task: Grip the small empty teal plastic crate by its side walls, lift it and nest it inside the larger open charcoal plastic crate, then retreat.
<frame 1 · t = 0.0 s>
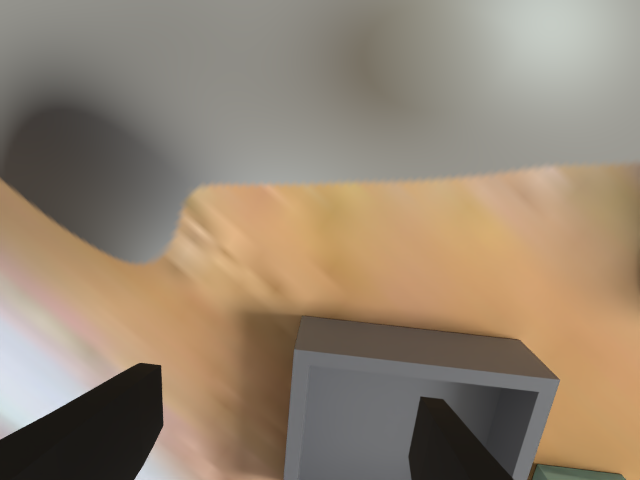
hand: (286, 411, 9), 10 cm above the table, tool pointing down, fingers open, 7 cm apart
big crate: (393, 417, 21), on the table
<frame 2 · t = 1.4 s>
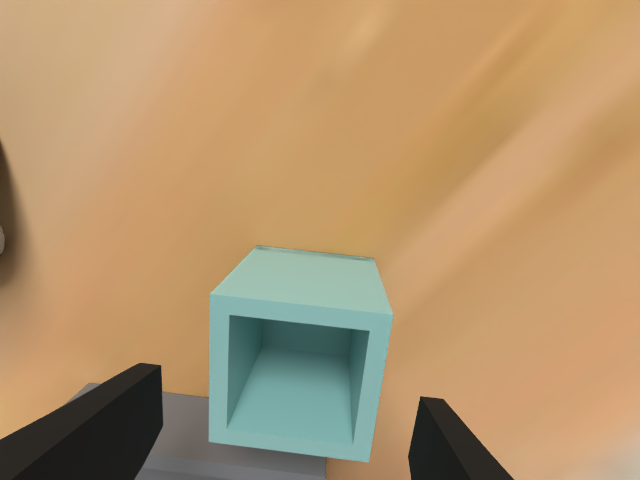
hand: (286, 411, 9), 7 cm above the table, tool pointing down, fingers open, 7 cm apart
small crate: (309, 305, 15), on the table
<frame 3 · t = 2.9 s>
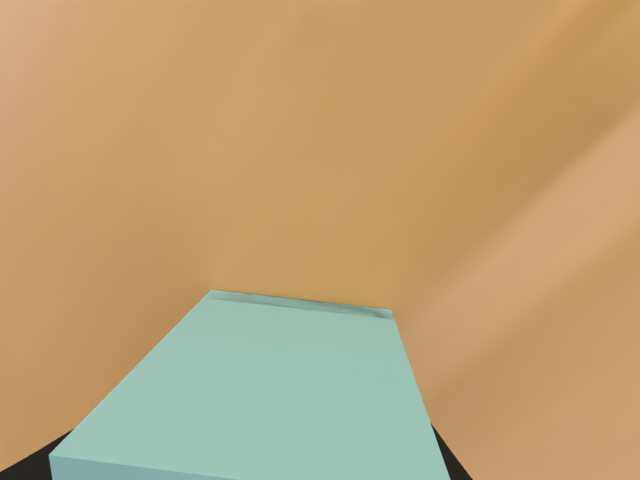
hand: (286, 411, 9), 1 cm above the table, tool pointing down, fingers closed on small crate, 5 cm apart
small crate: (293, 377, 10), on the table, touching gripper
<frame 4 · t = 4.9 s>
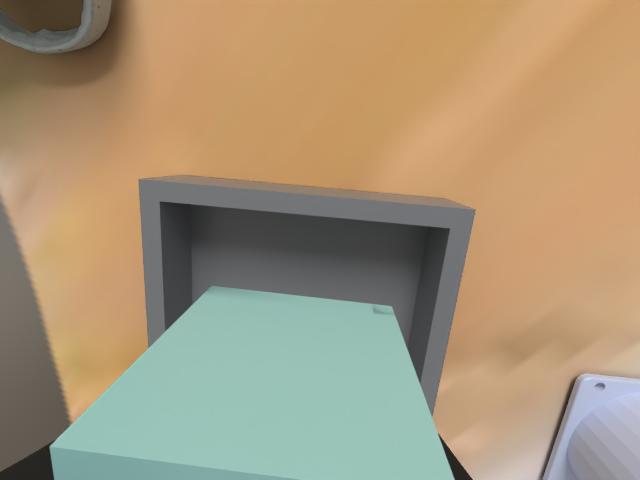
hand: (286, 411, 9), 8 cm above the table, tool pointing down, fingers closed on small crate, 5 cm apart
big crate: (302, 307, 17), on the table
small crate: (294, 373, 10), point 7 cm above the table, touching gripper
when the fingers open (4 cm above the table, at t = 6.9 s): small crate drops 1 cm, resting on big crate.
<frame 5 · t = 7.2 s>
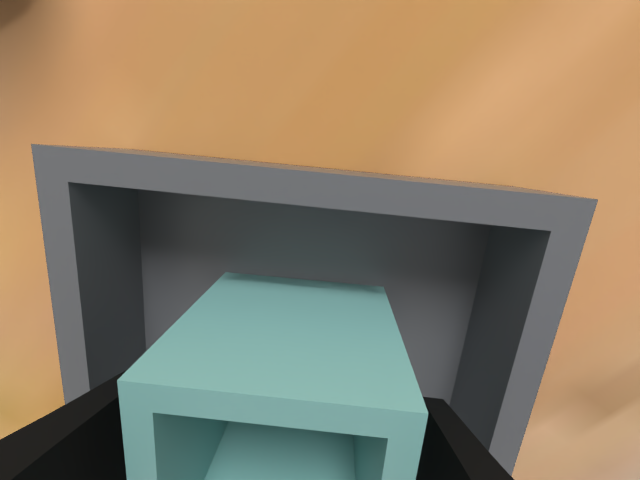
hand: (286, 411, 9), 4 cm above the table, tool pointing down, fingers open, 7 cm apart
big crate: (301, 339, 12), on the table
small crate: (299, 349, 11), point 1 cm above the table, touching big crate
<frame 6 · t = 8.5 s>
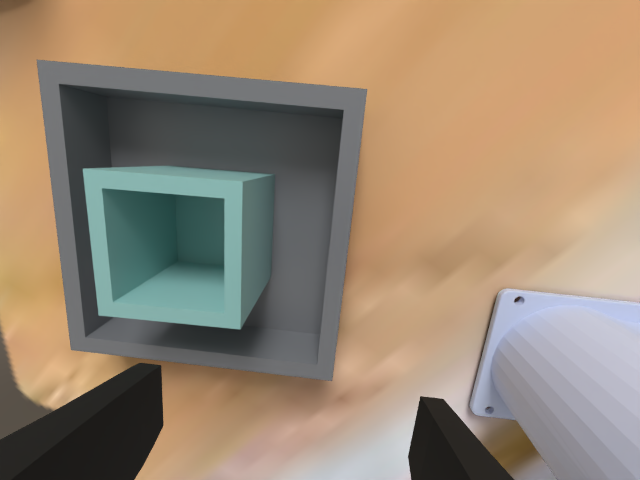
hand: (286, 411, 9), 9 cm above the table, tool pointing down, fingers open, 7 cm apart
big crate: (226, 221, 17), on the table
small crate: (221, 222, 16), point 1 cm above the table, touching big crate
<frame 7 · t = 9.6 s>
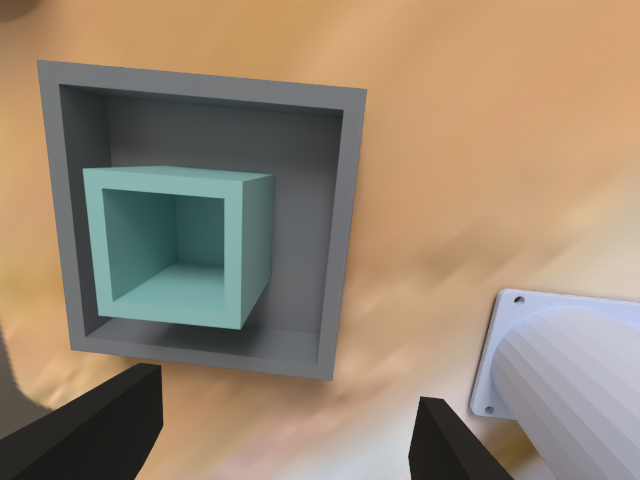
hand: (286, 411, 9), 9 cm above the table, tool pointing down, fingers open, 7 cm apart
big crate: (226, 221, 17), on the table
small crate: (221, 222, 16), point 1 cm above the table, touching big crate
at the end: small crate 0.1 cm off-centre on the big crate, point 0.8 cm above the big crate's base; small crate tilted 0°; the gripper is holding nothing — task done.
